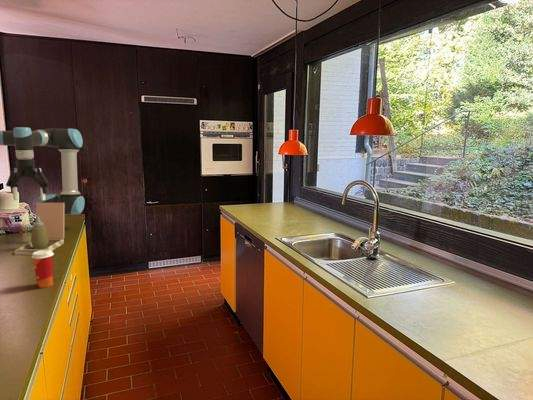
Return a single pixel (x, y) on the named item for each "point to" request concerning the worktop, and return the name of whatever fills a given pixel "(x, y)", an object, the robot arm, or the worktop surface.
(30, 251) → the frame
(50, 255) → the paper cup
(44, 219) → the lid
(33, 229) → the squeeze bottle
